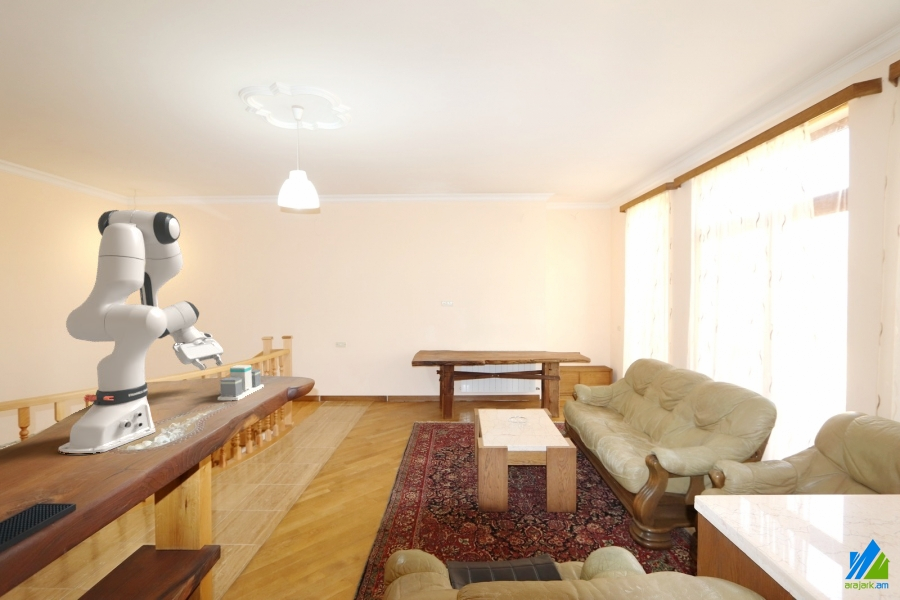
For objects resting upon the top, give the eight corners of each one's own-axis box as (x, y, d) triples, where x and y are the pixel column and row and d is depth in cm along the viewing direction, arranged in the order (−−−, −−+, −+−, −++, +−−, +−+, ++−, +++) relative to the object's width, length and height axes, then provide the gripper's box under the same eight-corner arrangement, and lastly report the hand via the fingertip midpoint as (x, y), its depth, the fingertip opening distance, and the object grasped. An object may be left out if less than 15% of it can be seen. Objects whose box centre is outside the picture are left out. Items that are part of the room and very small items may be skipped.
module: (245, 390, 158) (244, 367, 158) (230, 390, 159) (229, 367, 158) (252, 387, 163) (251, 365, 162) (238, 386, 163) (237, 365, 163)
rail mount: (237, 400, 152) (236, 380, 151) (217, 400, 152) (216, 380, 152) (263, 387, 169) (263, 369, 169) (245, 386, 170) (245, 369, 170)
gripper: (175, 338, 151) (198, 366, 150) (213, 333, 171) (234, 357, 170) (164, 350, 152) (187, 377, 151) (203, 343, 172) (224, 367, 171)
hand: (212, 366), depth 161 cm, fingers open, 8 cm apart
